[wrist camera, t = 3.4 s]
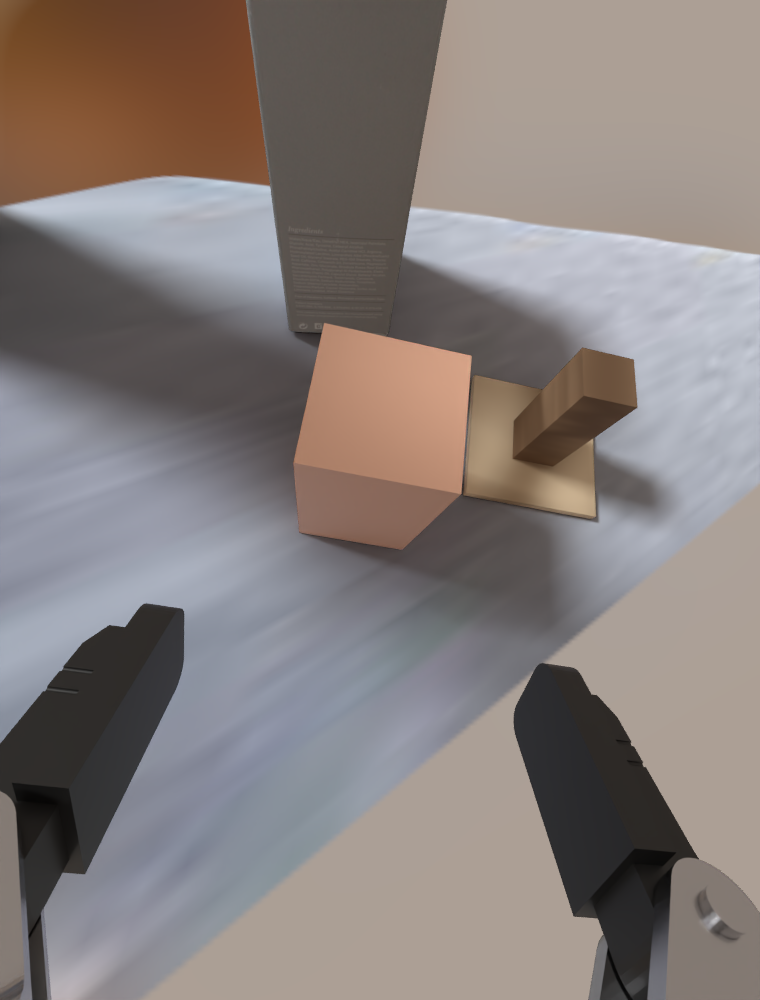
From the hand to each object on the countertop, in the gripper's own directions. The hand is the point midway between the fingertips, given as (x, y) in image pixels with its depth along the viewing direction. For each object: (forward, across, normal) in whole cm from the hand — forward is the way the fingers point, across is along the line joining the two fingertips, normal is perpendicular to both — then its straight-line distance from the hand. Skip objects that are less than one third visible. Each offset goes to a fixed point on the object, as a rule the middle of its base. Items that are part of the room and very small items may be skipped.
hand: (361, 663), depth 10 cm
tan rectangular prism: (+14, 0, +3) cm, 15 cm away
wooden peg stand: (+18, -10, -1) cm, 21 cm away
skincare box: (+24, +4, -7) cm, 26 cm away
